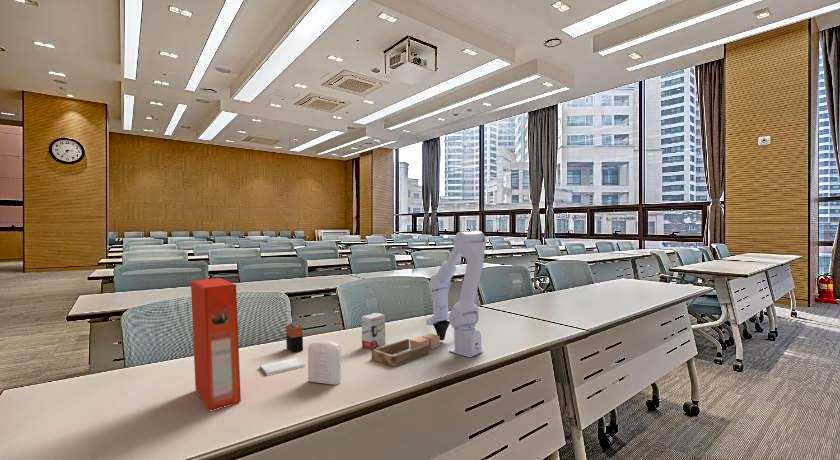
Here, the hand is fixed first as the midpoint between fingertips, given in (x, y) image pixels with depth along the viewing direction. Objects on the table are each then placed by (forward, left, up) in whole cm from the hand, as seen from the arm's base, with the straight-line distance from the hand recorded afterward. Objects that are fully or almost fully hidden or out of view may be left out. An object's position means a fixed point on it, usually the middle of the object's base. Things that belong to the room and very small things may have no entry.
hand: (441, 339), depth 156 cm
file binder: (+15, +78, -1) cm, 80 cm away
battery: (+36, +43, -1) cm, 56 cm away
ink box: (+17, +20, -1) cm, 26 cm away
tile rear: (0, +6, -1) cm, 6 cm away
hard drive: (+22, +55, -2) cm, 60 cm away
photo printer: (+1, +52, -1) cm, 52 cm away
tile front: (0, +12, -1) cm, 12 cm away
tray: (0, +21, -1) cm, 21 cm away
